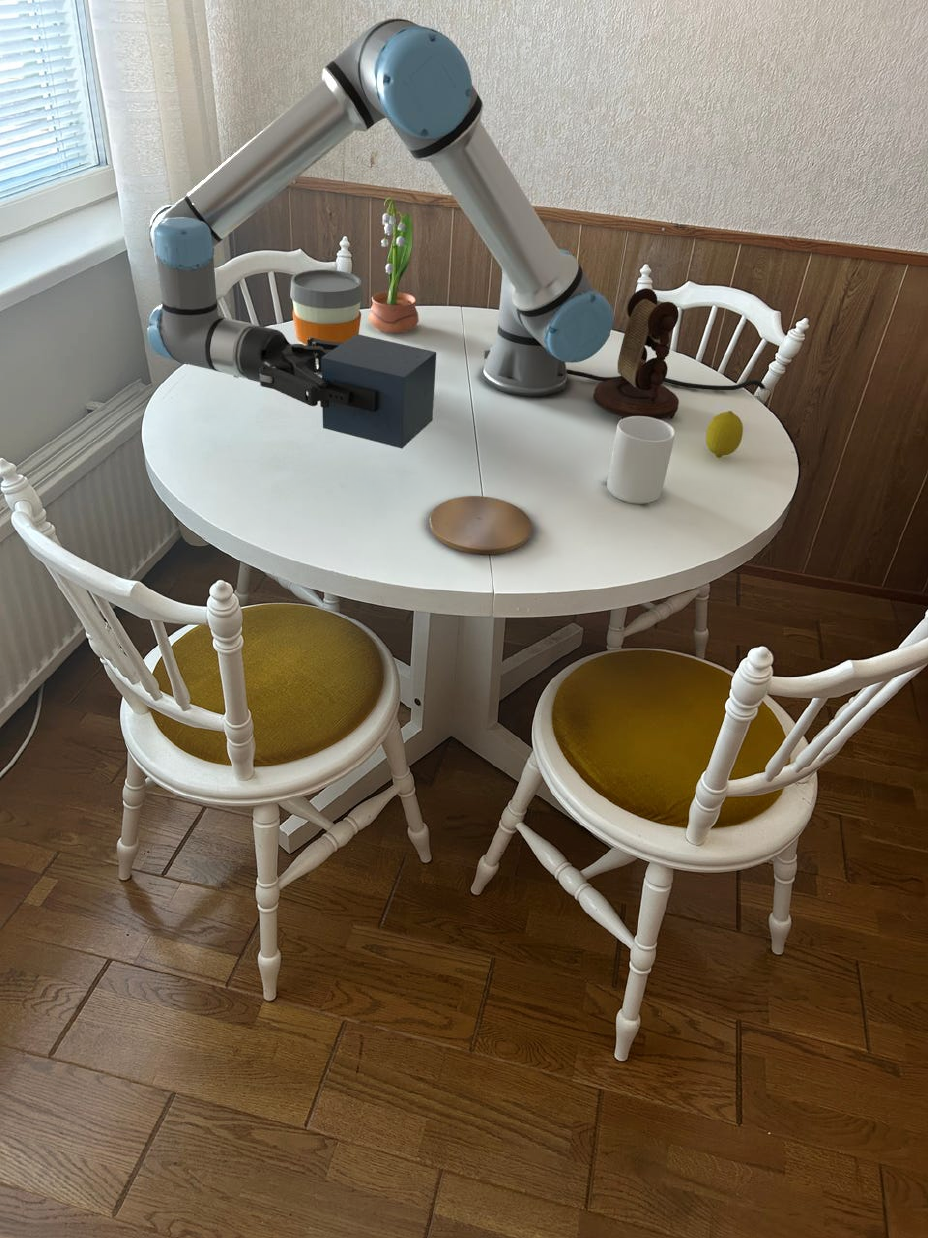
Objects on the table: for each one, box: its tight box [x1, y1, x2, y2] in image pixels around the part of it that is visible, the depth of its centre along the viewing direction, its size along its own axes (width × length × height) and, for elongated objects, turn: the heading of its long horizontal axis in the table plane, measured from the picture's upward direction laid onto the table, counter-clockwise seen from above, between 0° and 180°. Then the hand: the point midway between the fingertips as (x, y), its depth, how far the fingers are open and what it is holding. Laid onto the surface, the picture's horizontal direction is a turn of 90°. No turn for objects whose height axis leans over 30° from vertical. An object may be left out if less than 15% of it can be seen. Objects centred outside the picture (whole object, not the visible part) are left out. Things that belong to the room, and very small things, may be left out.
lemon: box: [705, 410, 744, 459], centre depth 147 cm, size 6×6×8 cm
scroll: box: [592, 287, 680, 420], centre depth 156 cm, size 15×15×20 cm
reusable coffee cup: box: [289, 269, 363, 366], centre depth 164 cm, size 13×12×15 cm
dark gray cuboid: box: [321, 333, 437, 449], centre depth 125 cm, size 12×10×10 cm
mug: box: [606, 416, 676, 505], centre depth 136 cm, size 12×8×10 cm
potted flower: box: [368, 196, 419, 334], centre depth 177 cm, size 12×10×25 cm
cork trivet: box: [429, 495, 532, 555], centre depth 127 cm, size 14×14×1 cm
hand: (394, 386), depth 123 cm, fingers closed on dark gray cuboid, 10 cm apart
